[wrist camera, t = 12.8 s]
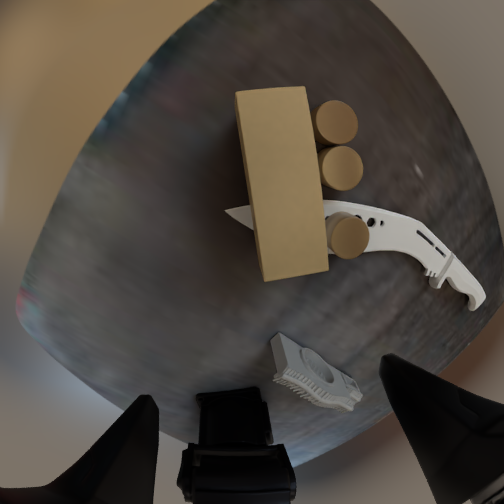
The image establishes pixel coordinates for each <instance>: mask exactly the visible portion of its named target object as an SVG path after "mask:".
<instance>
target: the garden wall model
mask: <svg viewBox="0 0 504 504" xmlns="http://www.w3.org/2000/svg"><path fill="white" fill-rule="evenodd" d="M270 342H271V347H272V351H273V356H274V360H275V364H276V369H277V374H275V375H274V378H275V379H273V381H276V380H278V381H276V382H277V383H279V382H280V384H283V385H286V384H288V385H286V387H288V386H292V387H290V389H293V388H295V389H294V390H293V391H294V392H295V391H297V390H298V391H299V392H297V394H300V393H302V395H300V397H303V396H305V397H303V398H304V399H306V398H308V399H309V400H307V401H308V402H310V401H311V404H314V403H315V405H318V406H321V407H330V408H331V407H332V408H334V409H336V408H337V409H336V410H339V409H341V410H339V412H340V411H342V412H341V413H344V412H347V411H352V410H353V406H354V405H355V404H356V403H357V402H359V401H360V400H361V398H362V397H363V394H361V393H360V390H359V388H358V386H357V384H356V382H355V380H353V379H352V378H350V377H348V376H347V375H345V374H343V373H342V372H340V371H339V370H337V369H335V368H334V367H332V366H331V365H329V364H327V363H326V362H325V361H324V360H323V359H322V358H321V357H320V356H319V355H318V354H317V353H315V352H314V351H313V350H311V349H309V348H302V347H301V346H299V345H298V344H296V343H295V342H293V341H292V340H290V339H289V338H287V337H286V336H284V335H283V334H281V333H280V332H279V333H278V334H277V335H275V336H274V337H273V338H272V339H271V340H270ZM281 381H282V382H281Z"/></svg>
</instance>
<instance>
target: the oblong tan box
mask: <svg viewBox="0 0 504 504" xmlns="http://www.w3.org/2000/svg"><path fill="white" fill-rule="evenodd" d="M235 112H236V119H237V125H238V131H239V138H240V144H241V150H242V157H243V163H244V170H245V176H246V183H247V189H248V196H249V202H250V209H251V215H252V222H253V228H254V235H255V242H256V248H257V255H258V262H259V266H260V270H261V273H262V276H263V279H264V282H268V281H274V280H279V279H285V278H291V277H296V276H302V275H307V274H313V273H318V272H323V271H328V270H329V266H328V251H327V238H326V227H325V216H324V207H323V198H322V189H321V181H320V173H319V166H318V159H317V152H316V146H315V139H314V133H313V127H312V121H311V116H310V110H309V105H308V100H307V95H306V90H305V87H304V86H303V87H281V88H267V89H257V90H247V91H239V92H235Z"/></svg>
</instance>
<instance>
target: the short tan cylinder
mask: <svg viewBox="0 0 504 504" xmlns="http://www.w3.org/2000/svg"><path fill="white" fill-rule="evenodd" d="M317 159H318V166H319V173H320V181H321V184H323V185H324V186H327V187H330V188H333V189H336V190H340V191H347V190H350V189H352V188H354V187H355V186H356V185H357V184H358V183H359V182H360V180H361V178H362V174H363V164H362V161H361V158H360V157H359V155H358V154H357V153H356V152H355V151H354V150H353V149H351V148H349V147H346V146H335V147H327V148H324V149H322V150H321V151H320V152H319V153H318V154H317Z"/></svg>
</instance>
